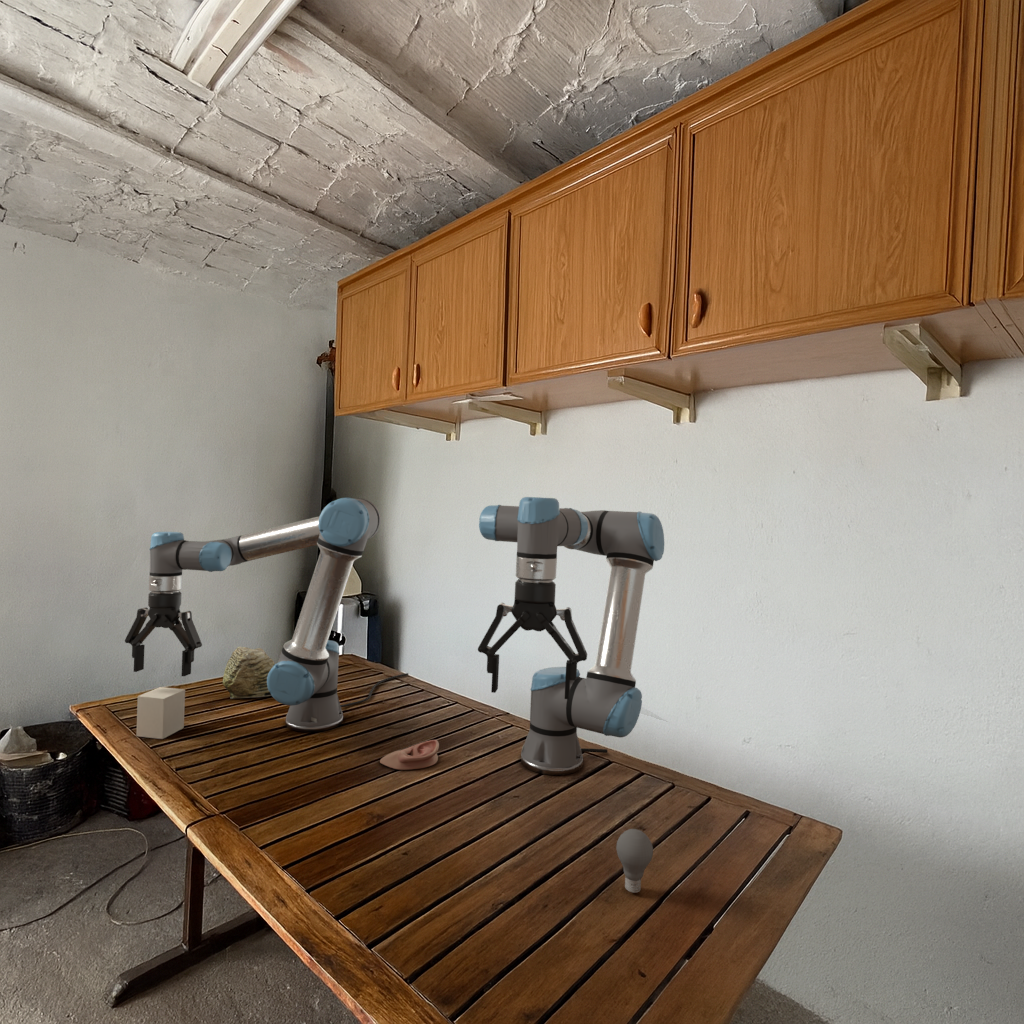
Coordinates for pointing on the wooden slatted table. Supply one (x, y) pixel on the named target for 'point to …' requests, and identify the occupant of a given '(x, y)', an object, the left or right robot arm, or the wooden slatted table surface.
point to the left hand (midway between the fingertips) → (162, 672)
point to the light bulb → (634, 857)
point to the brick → (160, 712)
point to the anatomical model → (413, 756)
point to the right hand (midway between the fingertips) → (530, 693)
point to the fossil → (247, 673)
